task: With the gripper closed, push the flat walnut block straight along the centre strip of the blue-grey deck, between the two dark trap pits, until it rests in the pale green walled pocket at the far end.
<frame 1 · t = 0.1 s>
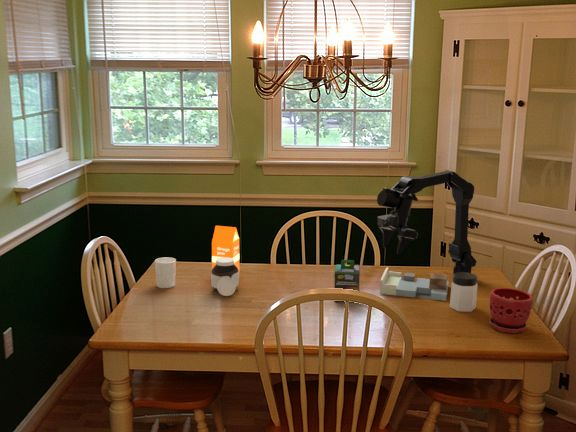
hand: (391, 250, 252), 15 cm above the table, tool pointing down, fingers open, 9 cm apart
gray block: (408, 284, 261), resting on deck
jar: (462, 308, 238), on the table
walnut block: (437, 286, 252), point 2 cm above the table, touching deck
white cup: (166, 285, 257), on the table
spread jar: (226, 291, 251), on the table
chalk box: (346, 298, 246), on the table
orange juice: (225, 275, 270), on the table
deck: (414, 290, 255), on the table
plant pot: (508, 328, 221), on the table
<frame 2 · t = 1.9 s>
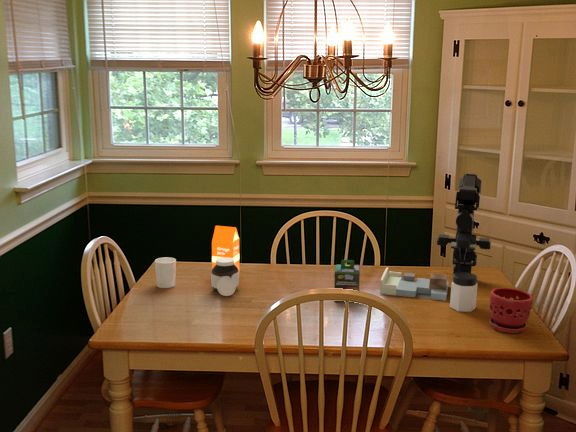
hand: (461, 264, 248), 12 cm above the table, tool pointing down, fingers closed
nothing on the table moved.
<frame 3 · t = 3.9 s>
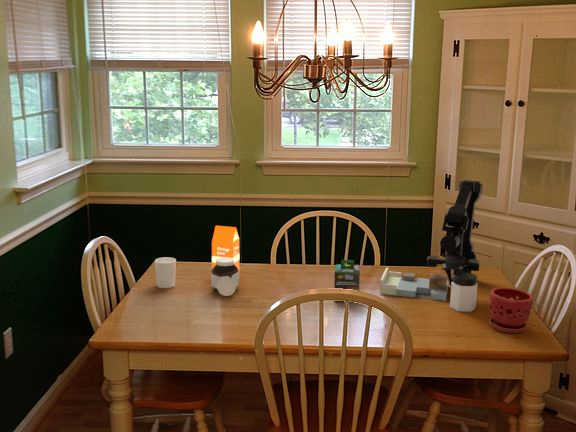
hand: (451, 285, 251), 4 cm above the table, tool pointing down, fingers closed
walnut block: (437, 286, 252), point 3 cm above the table, touching deck, gripper
everything else where it was.
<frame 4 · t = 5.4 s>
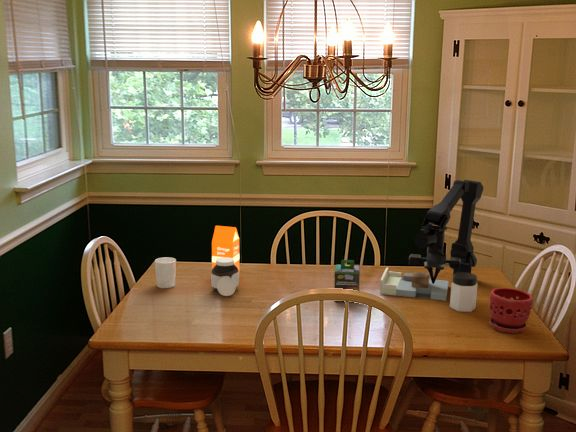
hand: (433, 283, 253), 4 cm above the table, tool pointing down, fingers closed
walnut block: (420, 284, 254), point 2 cm above the table, touching deck, gripper
everything else where it was.
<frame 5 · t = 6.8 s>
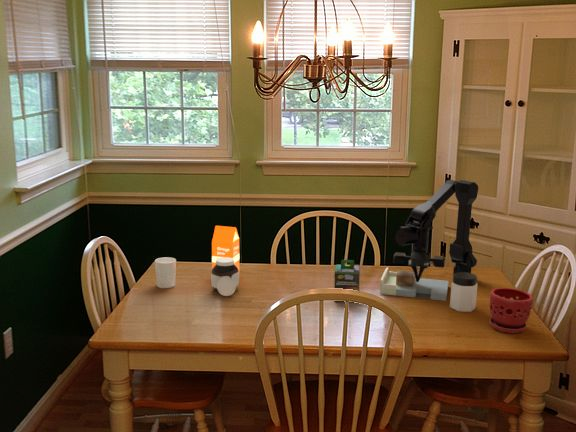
hand: (417, 281, 254), 4 cm above the table, tool pointing down, fingers closed
walnut block: (404, 283, 255), point 3 cm above the table, touching deck, gripper
everything else where it was.
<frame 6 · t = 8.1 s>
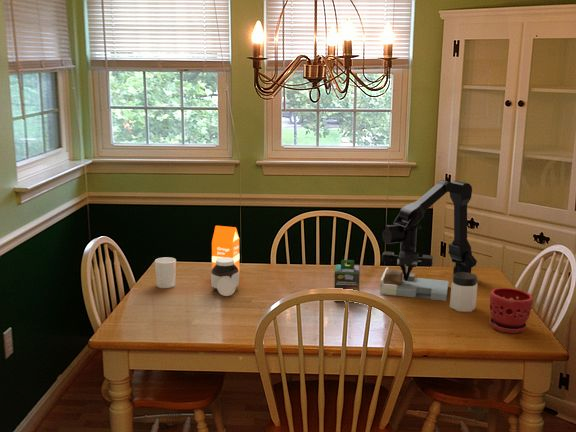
hand: (406, 280, 255), 4 cm above the table, tool pointing down, fingers closed
walnut block: (393, 282, 256), point 2 cm above the table, touching deck, gripper
everything else where it was.
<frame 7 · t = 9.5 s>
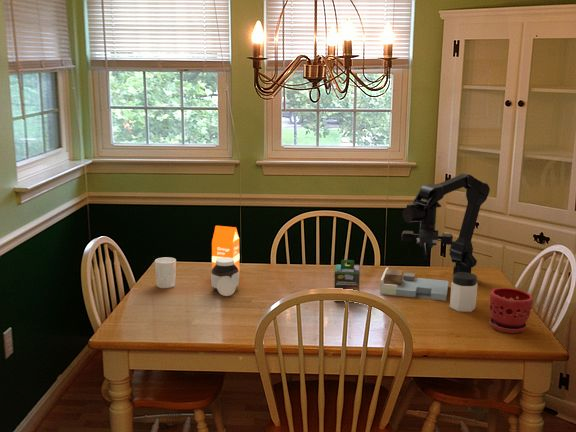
hand: (425, 259, 257), 11 cm above the table, tool pointing down, fingers closed
walnut block: (393, 282, 256), point 2 cm above the table, touching deck
everything else where it was.
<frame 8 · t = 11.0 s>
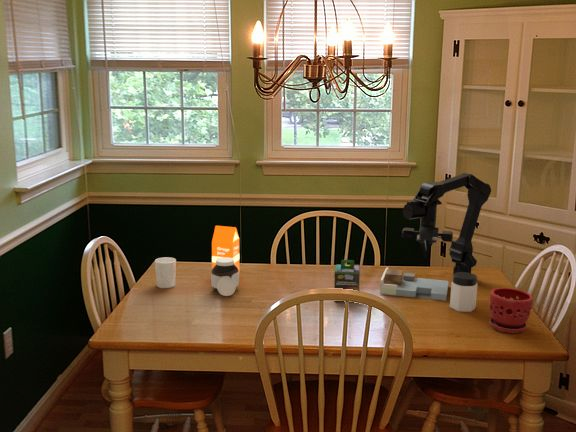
hand: (425, 256, 257), 12 cm above the table, tool pointing down, fingers closed
nothing on the table moved.
at the end: walnut block inside the target area on the deck (0.3 cm from its centre), point 2.5 cm above the deck's base; walnut block tilted 0° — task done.
